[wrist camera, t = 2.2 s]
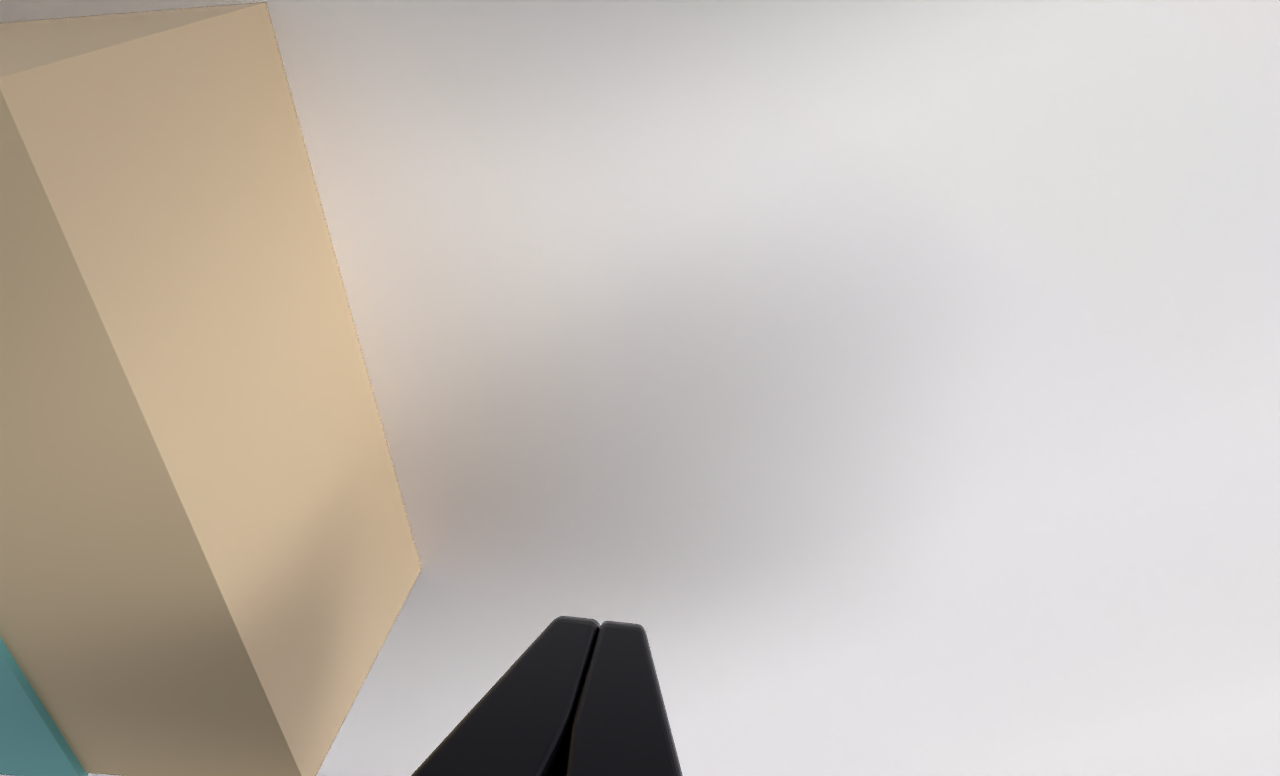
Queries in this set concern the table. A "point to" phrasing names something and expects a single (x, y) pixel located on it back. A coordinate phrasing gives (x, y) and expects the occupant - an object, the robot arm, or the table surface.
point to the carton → (178, 412)
